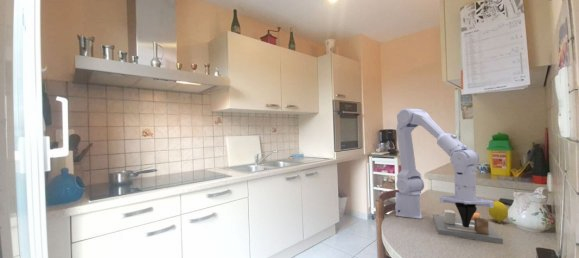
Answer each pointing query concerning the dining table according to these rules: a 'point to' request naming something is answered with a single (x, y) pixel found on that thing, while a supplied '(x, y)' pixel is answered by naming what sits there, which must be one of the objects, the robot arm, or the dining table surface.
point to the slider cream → (449, 217)
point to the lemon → (498, 211)
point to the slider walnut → (481, 226)
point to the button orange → (475, 216)
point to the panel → (465, 230)
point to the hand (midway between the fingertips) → (465, 226)
